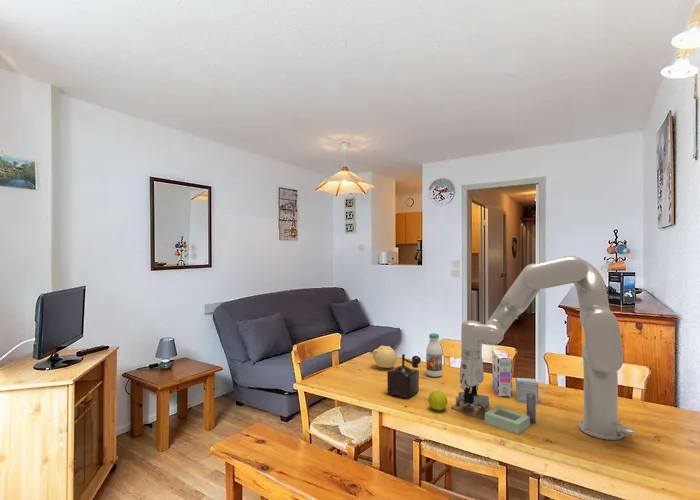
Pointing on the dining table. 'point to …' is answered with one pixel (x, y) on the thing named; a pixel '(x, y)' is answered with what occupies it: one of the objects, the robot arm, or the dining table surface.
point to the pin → (531, 407)
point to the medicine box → (526, 389)
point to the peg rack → (470, 409)
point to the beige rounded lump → (385, 356)
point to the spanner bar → (476, 400)
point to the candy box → (502, 373)
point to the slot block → (507, 420)
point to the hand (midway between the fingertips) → (470, 401)
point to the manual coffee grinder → (404, 379)
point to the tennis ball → (437, 400)
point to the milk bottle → (434, 356)
